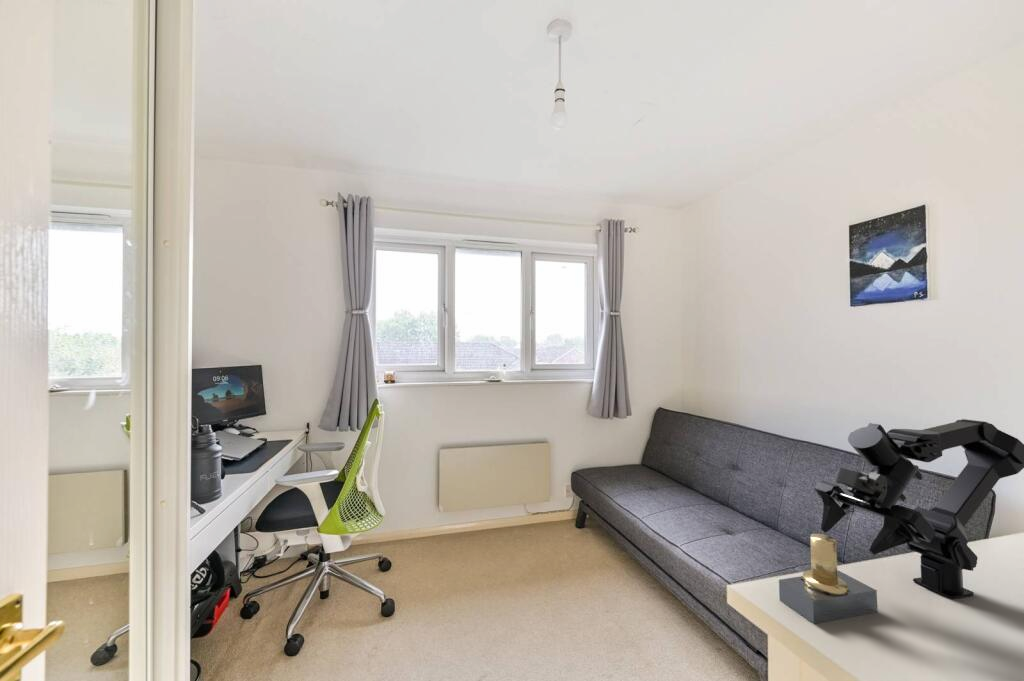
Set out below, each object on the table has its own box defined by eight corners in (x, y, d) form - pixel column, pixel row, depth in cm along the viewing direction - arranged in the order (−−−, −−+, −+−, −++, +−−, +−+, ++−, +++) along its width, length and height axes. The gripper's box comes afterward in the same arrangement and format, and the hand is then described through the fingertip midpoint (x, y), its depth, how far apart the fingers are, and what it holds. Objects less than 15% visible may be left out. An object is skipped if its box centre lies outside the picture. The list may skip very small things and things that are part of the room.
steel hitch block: (839, 590, 80) (838, 570, 81) (877, 611, 74) (876, 590, 74) (779, 600, 77) (778, 579, 77) (813, 623, 70) (812, 601, 71)
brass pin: (831, 596, 78) (828, 530, 79) (858, 618, 72) (855, 547, 72) (795, 594, 79) (793, 529, 80) (819, 617, 72) (816, 545, 73)
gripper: (818, 444, 88) (779, 498, 85) (919, 467, 69) (873, 536, 67) (848, 476, 89) (810, 530, 86) (955, 507, 71) (911, 577, 68)
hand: (845, 541), depth 77 cm, fingers open, 9 cm apart
